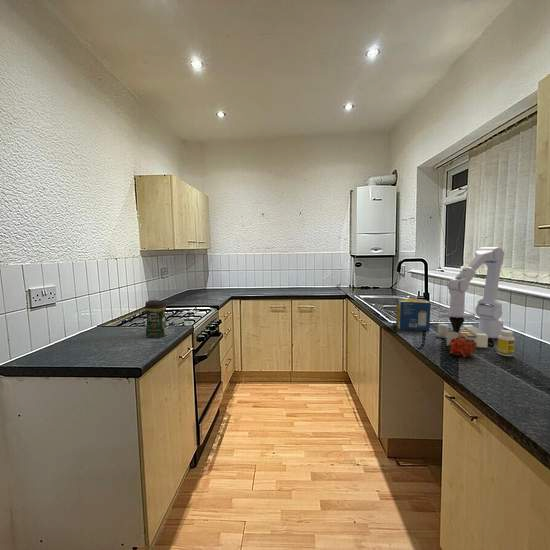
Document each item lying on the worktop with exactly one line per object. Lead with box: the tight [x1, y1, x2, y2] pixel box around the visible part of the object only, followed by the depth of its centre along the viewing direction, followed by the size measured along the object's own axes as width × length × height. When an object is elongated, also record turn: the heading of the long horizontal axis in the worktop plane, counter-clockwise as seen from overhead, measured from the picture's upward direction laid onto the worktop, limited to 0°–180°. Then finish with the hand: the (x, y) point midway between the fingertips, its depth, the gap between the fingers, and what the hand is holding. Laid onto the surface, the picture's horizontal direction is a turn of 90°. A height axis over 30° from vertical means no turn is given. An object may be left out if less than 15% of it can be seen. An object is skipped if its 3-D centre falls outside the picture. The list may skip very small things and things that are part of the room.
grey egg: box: [446, 330, 460, 347], centre depth 138 cm, size 4×4×6 cm
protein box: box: [395, 298, 431, 332], centre depth 168 cm, size 10×15×16 cm
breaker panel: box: [459, 324, 489, 348], centre depth 144 cm, size 7×18×6 cm, turn 166°
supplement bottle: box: [496, 329, 515, 357], centre depth 126 cm, size 5×5×10 cm
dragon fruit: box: [446, 336, 478, 358], centre depth 125 cm, size 8×8×12 cm
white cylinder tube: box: [437, 323, 449, 339], centre depth 152 cm, size 4×4×6 cm
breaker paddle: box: [459, 331, 471, 336], centre depth 143 cm, size 4×2×1 cm, turn 76°
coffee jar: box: [144, 299, 168, 339], centre depth 156 cm, size 10×8×19 cm
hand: (455, 333), depth 144 cm, fingers closed
